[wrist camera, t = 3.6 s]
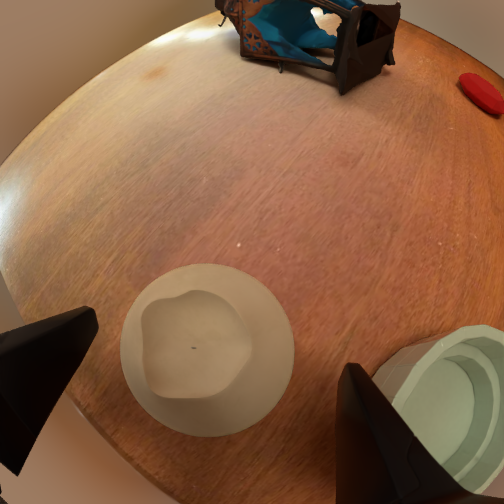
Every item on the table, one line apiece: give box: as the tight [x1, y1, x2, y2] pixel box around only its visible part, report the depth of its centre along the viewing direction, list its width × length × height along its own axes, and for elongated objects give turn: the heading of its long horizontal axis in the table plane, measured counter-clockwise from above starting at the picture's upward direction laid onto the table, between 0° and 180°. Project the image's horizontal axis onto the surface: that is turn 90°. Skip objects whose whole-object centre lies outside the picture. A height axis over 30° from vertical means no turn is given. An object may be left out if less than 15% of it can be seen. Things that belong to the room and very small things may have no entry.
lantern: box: [215, 0, 401, 96], centre depth 24 cm, size 16×16×25 cm
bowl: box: [372, 324, 504, 494], centre depth 11 cm, size 11×11×5 cm
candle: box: [120, 263, 295, 437], centre depth 11 cm, size 6×6×10 cm
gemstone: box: [459, 73, 504, 114], centre depth 25 cm, size 9×9×3 cm
